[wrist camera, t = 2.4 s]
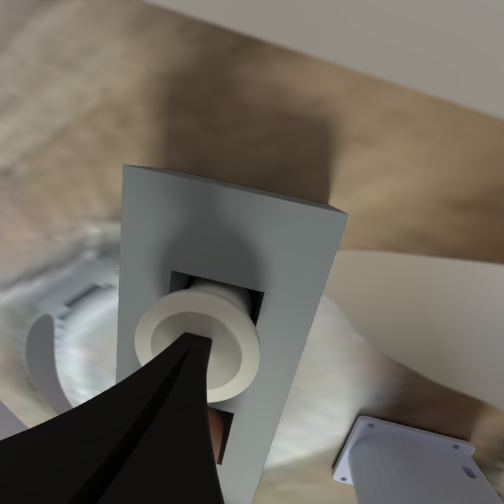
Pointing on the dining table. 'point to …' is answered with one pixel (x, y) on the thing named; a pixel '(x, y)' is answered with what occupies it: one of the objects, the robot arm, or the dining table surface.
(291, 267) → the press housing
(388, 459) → the robot arm
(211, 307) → the plunger
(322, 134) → the dining table surface
